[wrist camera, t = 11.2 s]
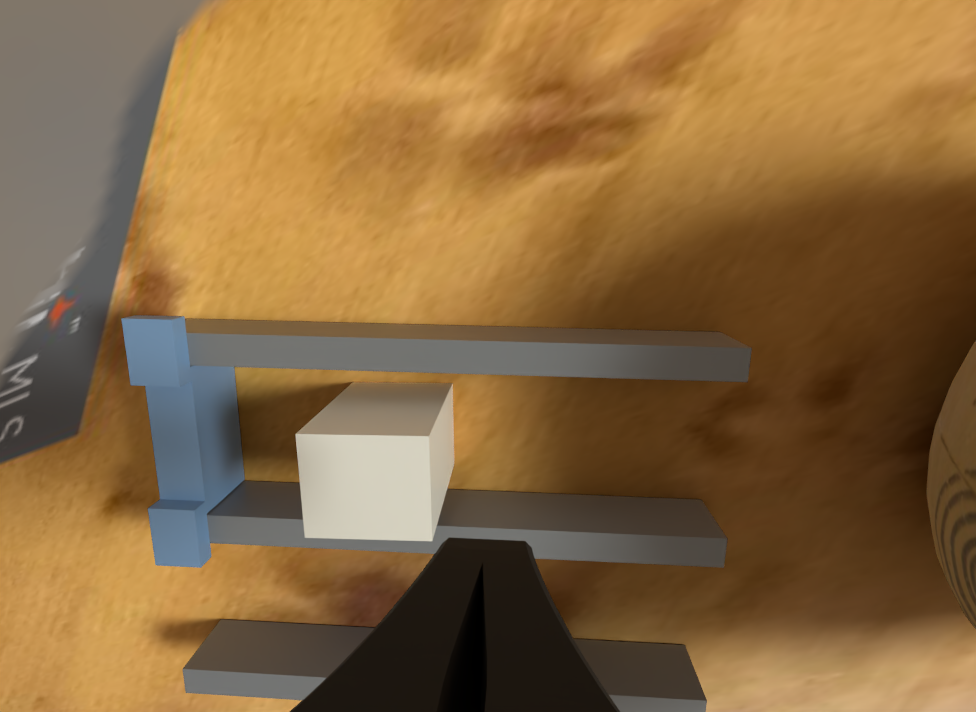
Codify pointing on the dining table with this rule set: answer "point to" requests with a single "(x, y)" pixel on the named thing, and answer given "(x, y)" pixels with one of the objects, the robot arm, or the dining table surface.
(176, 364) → the metal rails
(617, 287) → the dining table surface
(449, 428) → the cream rectangular box
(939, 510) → the ceramic bowl
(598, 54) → the dining table surface
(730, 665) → the dining table surface
